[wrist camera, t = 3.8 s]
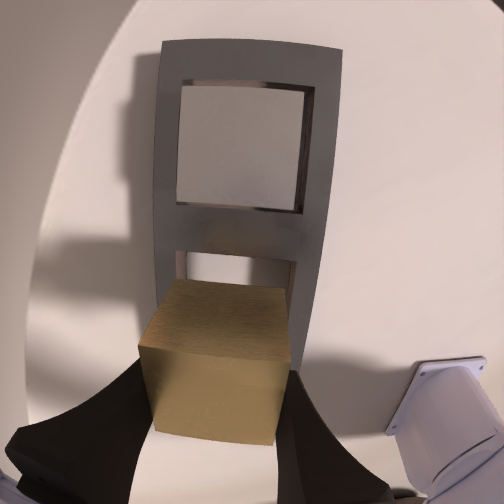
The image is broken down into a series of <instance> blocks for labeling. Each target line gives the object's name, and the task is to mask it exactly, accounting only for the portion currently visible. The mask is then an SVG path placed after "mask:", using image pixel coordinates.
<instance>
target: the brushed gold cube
mask: <svg viewBox="0 0 504 504" xmlns="http://www.w3.org/2000/svg"><path fill="white" fill-rule="evenodd" d="M138 350H139V356H140V361H141V366H142V372H143V377H144V382H145V386H146V391H147V396H148V400H149V405H150V409H151V413H152V417H153V421H154V425H155V429H156V431H158V432H163V433H169V434H174V435H180V436H185V437H192V438H198V439H205V440H213V441H221V442H230V443H240V444H252V445H268V446H273V442H274V438H275V433H276V429H277V425H278V420H279V416H280V412H281V407H282V403H283V398H284V393H285V389H286V384H287V379H288V374H289V369H290V364H291V358H290V345H289V332H288V319H287V307H286V296H285V288H273V287H261V286H250V285H239V284H228V283H217V282H207V281H197V280H188V279H178V278H175V280H174V282H173V283H172V285H171V287H170V289H169V290H168V292H167V294H166V295H165V297H164V299H163V301H162V302H161V304H160V306H159V308H158V309H157V311H156V313H155V315H154V316H153V318H152V320H151V322H150V323H149V325H148V327H147V329H146V331H145V332H144V334H143V336H142V338H141V340H140V341H139V343H138Z"/></svg>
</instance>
